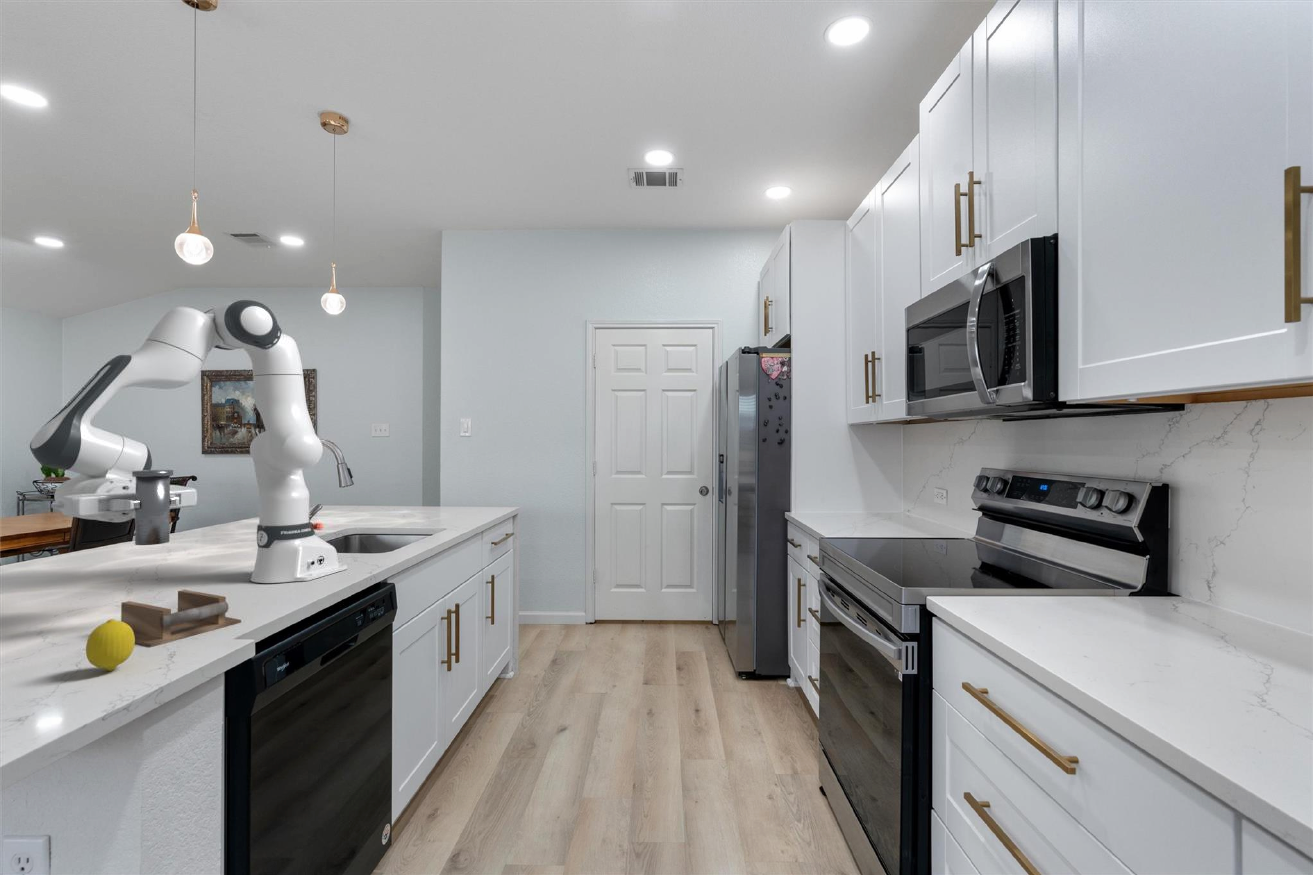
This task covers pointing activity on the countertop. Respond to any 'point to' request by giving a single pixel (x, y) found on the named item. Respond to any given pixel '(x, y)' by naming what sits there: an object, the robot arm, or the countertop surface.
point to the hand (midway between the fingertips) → (155, 503)
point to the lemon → (110, 644)
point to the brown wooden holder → (176, 618)
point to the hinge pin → (152, 506)
